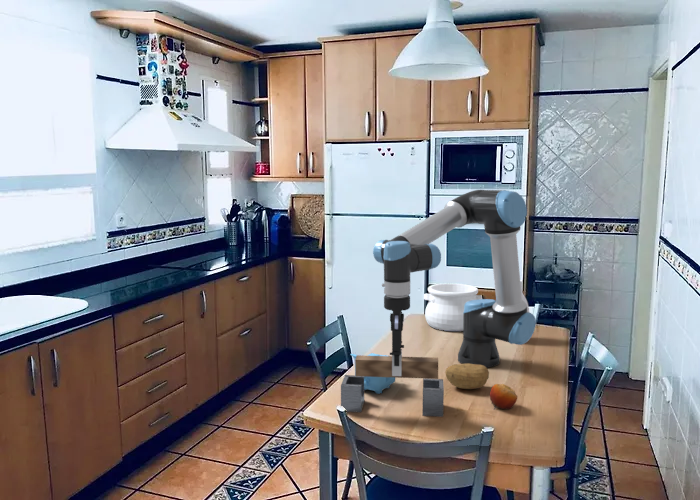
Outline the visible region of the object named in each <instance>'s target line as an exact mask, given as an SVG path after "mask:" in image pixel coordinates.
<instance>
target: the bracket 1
mask: <svg viewBox="0 0 700 500" xmlns="http://www.w3.org/2000/svg"><path fill="white" fill-rule="evenodd" d="M364 404H365V390H364V376H355V374H354V375H351V374H350V375H349V374H345V375H344V377H343V379H342V382H341V384H340V407H341V406H343V407H344V408H345V409H346V410H347V412H348V413H362V409H363V407H364Z"/></svg>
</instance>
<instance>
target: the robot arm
mask: <svg viewBox="0 0 700 500" xmlns="http://www.w3.org/2000/svg"><path fill="white" fill-rule="evenodd" d="M527 211H528V210H527V204H526V201H525V199H524V198H523V197H522V195H520V193H518V192H516V191H512V190H511V191H510V190H505V189H497V190H495V189H476V190H470V191H468V192H466V193H463V194H461V195H459V196H457V197H455V198H453V199H452V200H449V201H448V202H447V203H446V204H445V205H444V208H442V209H441V210H439V211H437V212H436V213H434V214H432V215H430V216H429V217H427V218H425V219H424V220H421V222H419V223H417V224H415V225H414V226H412V227H410V228H409V229H407V230H405V231H404V232H402V233H400V234H399V235H397V236H395V237H393V238H391V239H381V240H378V241H376V243H375V244H374V246H373V250H372V254H373V257H374V260H375V261H376V262H378V263H380V264H383V281H384V282H383V283H382V284H381V286H382V287H383V293H384V297H383V308H384V309H385V310H387V311H392V312H391V313H390V314H389V321H390V331H391V352H389V356H390V355H391V356H392V376H401V370H402V357H403V349H404V348H405V345H404V344H403V340H402V338H403V336H402V333H403V330H404V321H405V314H404V313H403V312H402V311H408V310H409V309H410V308H411V296H410V294H411V273H415V272H422V271H429V270H433V269H435V268H437V267H438V266H439V265H440V264H441V261H442V253H441V251H440V249H439V247H438V246H437V245H435V244H433V242H434V241H436V240H439V238H441V237H442V236H444V235H446V234H447V233H449V232H450V231H452V230H454V229H456V228H459V229H460V228H462V227H465V225H469V224H478V225H483V227H484V233H485V234H486V235H487V236H488V237H489V240H490V250H491V261H492V271H493V281H494V290H495V299H492V298H491V299H490V298H487V299H486V298H482V299H479V300H471V301H468V302H466V303H465V305H464V312H463V314H464V316H463V331H462V332H463V333H462V334H463V338H462V342H461V344H460V347H459V351H458V354H457V360H458V363H459V364H467V363H469V364H477V365H483V366H485V367H486V368H493V367H496V366H498V365H499V364H500V353H499V350H498V347H497V343H496V340H499V341H501V342H502V341H503V342H505V343H509V344H511V345H518V346H522V345H524V344H526V343H528V341H529V340H531V338H532V336H533V335H534V331H535V329H536V321H537V319H536V317H535V315H534V314H533V313H532V312H530V311H529V312H527V304H526V303H525V302H524V301H523V300H522V296H521V284H520V280H521V275H520V265H519V264H520V263H519V250H518V241H517V234H518V233H519V232H520V231H521V226H523V225H524V223H525V222H526V220H527V219H526V217H527V215H528V212H527ZM382 287H381V288H382Z"/></svg>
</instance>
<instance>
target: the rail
mask: <svg viewBox="0 0 700 500" xmlns="http://www.w3.org/2000/svg"><path fill="white" fill-rule="evenodd" d="M356 355H357V356H356V359H354V375H355V376H364V377H395V379H397V378H399V379H400V378H401V379H402V378H403V379H407V378H408V379H439V357H431V356H426V357H425V356H402V370H401V376H392V355H391V356H390V355H387V356H367V355H360V354H359V355H358V354H356Z"/></svg>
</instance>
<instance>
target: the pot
mask: <svg viewBox="0 0 700 500" xmlns="http://www.w3.org/2000/svg"><path fill="white" fill-rule="evenodd" d="M427 291H428V293H424V294H423V300H425V301H428V302H427V305H426V308H425V310H424V314H425V315H424V316H425V321H426V322H427V324H428V325H429V327H432V328H433V329H436V330H438V329H439V331H443V330H444V332H463V316H464V314H463V312H464V305H465V303H466V302H468V301H471V300H479V299H483V296H482V295H481V294H479V289H478V288H477V286H474V285H470V284H465V283H452V282H451V283H450V282H449V283H448V282H447V283H444V282H443V283H437V284H432V285H429V286H428V287H427Z"/></svg>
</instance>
